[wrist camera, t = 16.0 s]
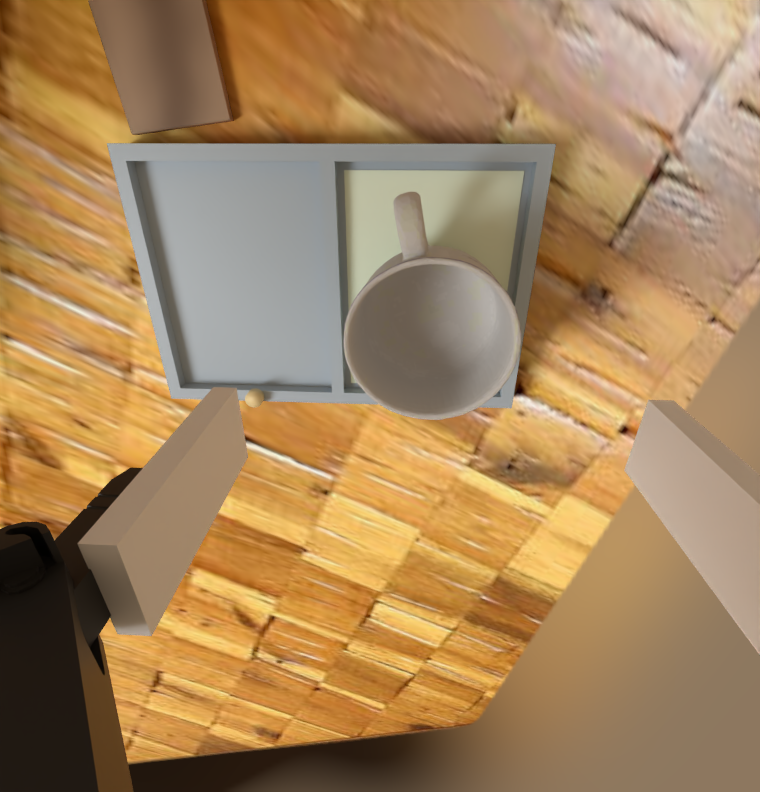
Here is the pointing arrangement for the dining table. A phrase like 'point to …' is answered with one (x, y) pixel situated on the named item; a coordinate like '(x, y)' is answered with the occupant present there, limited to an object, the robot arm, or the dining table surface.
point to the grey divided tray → (308, 249)
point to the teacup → (430, 327)
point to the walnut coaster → (163, 62)
